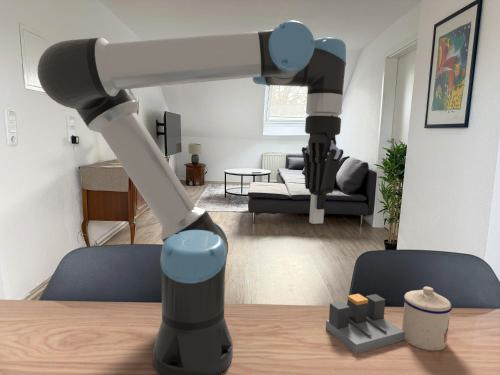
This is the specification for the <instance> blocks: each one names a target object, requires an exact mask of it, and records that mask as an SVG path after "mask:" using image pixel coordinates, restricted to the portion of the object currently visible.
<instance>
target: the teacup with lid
mask: <svg viewBox="0 0 500 375" xmlns="http://www.w3.org/2000/svg"><path fill="white" fill-rule="evenodd" d="M403 301H404V303H403V304H404V306H403V314H402V315H403V316H402V326H401V327H402V328H401V329H402V330H403V331H405V336H404V341H406V342H407V343H408V344H410V345H412V346H414V347H416V348H418V349H422V350H424V351H425V350H426V351H432V352H434V351H441V350H444V349H445V348H446V347H447V342H448V335H449V334H448V333H449V324H450V315H451V311H452V310H453V307H452V304H451V302H450V301H449V299H447V298H446V297H445V296H442V295H440V294H438V293H436V292H435V291H434V288H433V287H431V286H424V287H423V288H422V289H419V290H418V289H417V290H410V291H407V292H406V293H405V294H404V296H403Z"/></svg>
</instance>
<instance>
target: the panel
mask: <svg viewBox="0 0 500 375" xmlns="http://www.w3.org/2000/svg"><path fill="white" fill-rule="evenodd" d="M365 298H367V299H368V304H367V317H366V322H362V323H358V324H356V323H355V322H353V321H352V320H351V319H349V313H350V307H349V306H348V305H347V304H346V303H344V302H343V301H342V300H338V301H334V302H330V303H329V314H328V319H325V329H326V330H327V331H328V332H329V333H330V334H332V335H333V336H334V337H335V338H336V339H337V340H339V341H340V342H341V343H342V344H344V346H346V347H347V348H348V349H349V350H350V351H352V353H354V354H355V355H356V354H360V353H364V352H367V351H372V350H374V349H378V348H382V347H385V346H389V345H393V344H397V343H398V342H399V343H401V342H403V341H405V339H404V336H405V331H403V330H402V328H401V327H398V326H397V325H395V324H394V323H392V322H391V321H389V320H387V319H385V309H386V308H385V306H386V299H385V298H384V297H382V296H381V295H378V294H376V293H374V294H370V295H369V294H368V295H365Z"/></svg>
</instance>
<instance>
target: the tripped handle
mask: <svg viewBox="0 0 500 375" xmlns="http://www.w3.org/2000/svg"><path fill="white" fill-rule="evenodd" d="M367 304H368V299H367V298H366V296H363V295H362V294H360V293H356V294H350V295H349V294H348V295H347V304H346V305H348V306H349V307H350V313H349V319H351V320H352V321H353V322H355V323H356V324H358V323H362V322H366V317H367Z"/></svg>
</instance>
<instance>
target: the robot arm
mask: <svg viewBox="0 0 500 375" xmlns="http://www.w3.org/2000/svg"><path fill="white" fill-rule="evenodd" d="M346 60H347V46H346V42H345V41H344V40H342V39H340V38H337V37H318V38H314V35H313V33H312V31H311V30H310V28H309V27H308V26H307V25H306V24H304V23H303V22H301V21H298V20H288V21H287V20H286V21H284V22H282V23H280V24H279V25H278V26H277V27H275V28H274V29H266V30H258V31H257V30H256V31H248V32H234V33H222V34H210V35H209V34H208V35H199V36H184V37H173V38H163V39H160V38H159V39H149V40H148V39H147V40H140V41H139V40H138V41H135V40H134V41H125V42H123V41H122V42H115V43H114V42H113V43H112V42H109V41H108V40H107V39H106V38H104V37H91V38H82V39H81V38H80V39H78V38H77V39H70V40H69V39H68V40H64V41H63V40H62V41H59V42H55V43H54V44H51V45H50V46H48V48H46V49H45V51H43V53H42V54H41V56H40V58H39V60H38V64H37V78H38V81H39V84H40V86H41V88H42V90H43V91H44V93H45V94H46V95H47V96H48V97H49V98H50V99H51V100H53V101H55V102H56V104H57V103H58V104H59V105H61V106H63V107H65V108H70V109H74V110H76V112H77V113H78V115H79V116H80V118H81V119H82V121H83V123H84V124H85V125H86V127H87V128H88V130H89V131H93V132H96V133H100V134H101V136H102V137H103V139H104V140H105V142H106V144H107V145H108V146H109V148H110V150H111V151H112V153H113V154H114V156H115V157H116V159H117V160H118V162H119V163H120V164H121V167H122V168H123V169H124V171H125V173H126V175H127V176H128V177H129V179H130V180H131V182H132V183H133V185H134V186H135V188H136V189H137V191H138V193H139V194H140V196H141V197H142V198H143V200H144V202H145V203H146V205H147V207H148V208H149V209H150V211H151V212H152V213H153V215H154V217H155V219H156V220H157V221H158V223H159V224H160V226H161V234H160V239H161V240H162V242H163V244H162V247H161V253H160V258H159V260H160V267H161V270H160V272H161V273H160V274H161V275H160V276H161V277H160V278H161V323H160V326H159V328H158V332H157V335H156V338H155V341H154V344H153V347H152V364H153V368H154V369H155V370H156V372H157V373H158V374H159V375H220V374H221V373H223V372H224V371H225V370H227V368H228V367H229V366H230V364H231V362H232V359H233V356H234V355H233V354H234V352H233V351H234V345H233V340H232V337H231V333H230V330H229V328H228V325H227V322H226V319H225V289H226V288H225V283H226V266H227V259H228V254H229V242H228V237H227V236H226V233H225V232H224V230H223V228H222V227H220V226H219V225H218V224H217V223H216V222H214V220H213V219H212V217H211V216H210V214H209V213H208V211H207V209H205V208H202V207H198V206H196V205H195V203H194V202H193V200H192V198H191V197H190V195H189V193H188V192H187V190H186V189H185V187H184V185H183V184H182V183H181V181H180V180H179V178H178V176H177V175H176V173H175V172H174V170H173V168H172V167H171V165H170V163H169V162H168V160H167V159H166V157H165V155H164V154H163V152H162V150H161V148H159V146H158V144H157V143H156V141H155V140H154V138H153V136H152V135H151V134H150V132H149V130H148V129H147V127H146V125H145V124H144V123H143V120H142V119H141V118H140V116H139V115H138V109H139V104H140V103H139V101H138V100H137V98H136V97H135V95H134V93H133V92H132V89H139V88H140V89H143V88H151V87H152V88H153V87H162V86H172V85H173V86H175V85H185V84H195V83H196V84H198V83H207V82H216V81H217V82H218V81H219V82H220V81H227V80H237V79H239V80H240V79H248V78H250V79H251V78H252V82H253V83H254V84H256V85H264V86H267V87H270V86H281V87H282V86H283V87H284V86H288V87H307V92H306V93H307V94H306V108H305V113H306V114H307V115H308V116H306V118H305V126H304V132H305V133H306V135H309V138H308V141H307V144H308V145H306V146H305V147H304V146H303V147H301V153H302V157H303V171H304V186H305V187H304V188H305V190H308V191H309V193H310V199H309V200H310V201H309V202H310V203H309V205H310V206H309V223H310V224H313V225H315V224H324V216H325V208H326V197H327V195H328V194H333V192H334V188H335V184H336V179H337V175H338V170H339V167H340V161H341V159H342V157H343V155H344V149H339V148H338V147H337V139H336V136H338V135H340V134H341V130H342V129H341V127H342V126H341V124H342V118H341V117H339V116H340V115H341V114H342V112H343V110H342V108H343V96H344V83H345V74H346V73H345V72H346V65H347V61H346Z"/></svg>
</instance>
